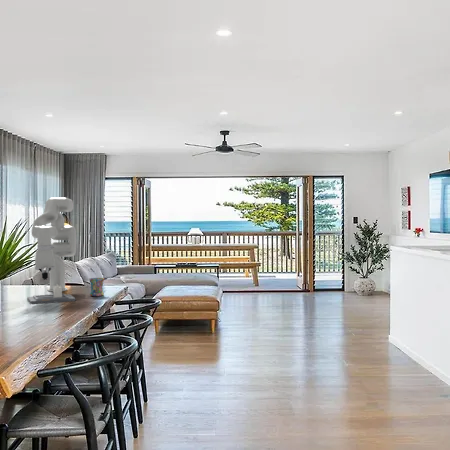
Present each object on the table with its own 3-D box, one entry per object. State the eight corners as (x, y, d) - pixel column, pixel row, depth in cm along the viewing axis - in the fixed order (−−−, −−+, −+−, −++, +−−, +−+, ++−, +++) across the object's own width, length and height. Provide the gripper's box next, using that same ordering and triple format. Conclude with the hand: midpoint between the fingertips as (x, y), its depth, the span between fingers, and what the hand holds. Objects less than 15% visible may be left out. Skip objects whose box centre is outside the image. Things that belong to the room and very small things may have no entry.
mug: (89, 295, 320) (89, 277, 320) (105, 294, 322) (105, 277, 322) (87, 297, 309) (87, 280, 308) (103, 297, 310) (103, 279, 310)
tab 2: (53, 297, 298) (53, 286, 298) (60, 297, 300) (60, 285, 300) (54, 298, 295) (54, 286, 294) (61, 298, 296) (61, 286, 296)
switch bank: (27, 299, 302) (27, 295, 302) (69, 296, 313) (69, 292, 313) (30, 304, 286) (30, 299, 286) (75, 300, 297) (75, 296, 297)
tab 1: (53, 295, 306) (53, 284, 306) (60, 295, 308) (60, 284, 307) (54, 296, 302) (54, 285, 302) (61, 296, 304) (61, 284, 304)
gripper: (56, 247, 308) (57, 277, 309) (30, 248, 302) (30, 279, 303) (58, 248, 302) (59, 279, 303) (31, 249, 295) (32, 281, 296)
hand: (45, 279), depth 303 cm, fingers closed
